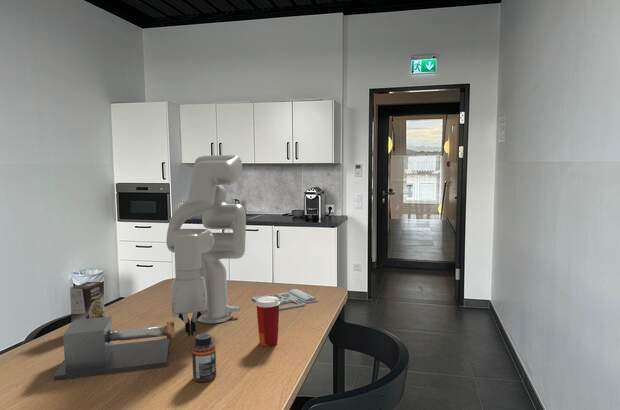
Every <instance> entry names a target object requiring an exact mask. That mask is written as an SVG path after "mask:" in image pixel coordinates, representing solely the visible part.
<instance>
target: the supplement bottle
mask: <svg viewBox="0 0 620 410" xmlns="http://www.w3.org/2000/svg"><path fill="white" fill-rule="evenodd" d="M216 354H217V353H216V343H214V341H212V334H211V333H200V334H197V335H196V336H195V342H194V344H193V345H192V347H191V355H192V357H191V359H192V378H193V380H194V381H196V382H198V383H207V382H210V381H212V380H214V379H215V378H216V377H217V355H216Z"/></svg>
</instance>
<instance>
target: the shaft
mask: <svg viewBox="0 0 620 410" xmlns="http://www.w3.org/2000/svg"><path fill="white" fill-rule="evenodd" d="M157 337H166V339H169V340H174V339H175V337H176V328H175V320H173V321H167V322H166V325H156V326H148V327H147V326H146V327H139V328H136V327H135V328H129V329H119V330H118V329H117V330H112V331H108V332H107V339H108V342H113V343H114V342H123V341H133V340H139V339H140V340H141V339H150V338H157Z"/></svg>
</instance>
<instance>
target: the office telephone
mask: <svg viewBox="0 0 620 410" xmlns="http://www.w3.org/2000/svg"><path fill="white" fill-rule="evenodd" d="M266 296H273V297H277V298H278V299H279V301H280V304H279V312H281V311H283V310H284V311H286V310H290V309H296V308H301V307H305V306H307V305H308V304H313V303H317V302H319V299H318V298H316V297H314V296H312V295H310V294H308V293H306V292H305V291H302V290H300V289H297V288H293V289H291V290H289V291H286V292H280V293H273V294H267V295H266V294H265V295H259V296H253V297H251V300H252V301H253V302H255V303H256V301H257V299H258V298H261V297H266ZM290 303H294V304H292V305H287V306H281V307H280V305H284V304H285V305H286V304H290Z"/></svg>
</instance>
